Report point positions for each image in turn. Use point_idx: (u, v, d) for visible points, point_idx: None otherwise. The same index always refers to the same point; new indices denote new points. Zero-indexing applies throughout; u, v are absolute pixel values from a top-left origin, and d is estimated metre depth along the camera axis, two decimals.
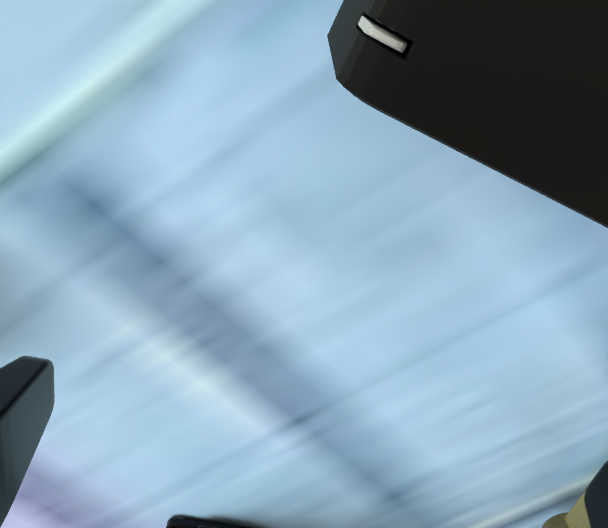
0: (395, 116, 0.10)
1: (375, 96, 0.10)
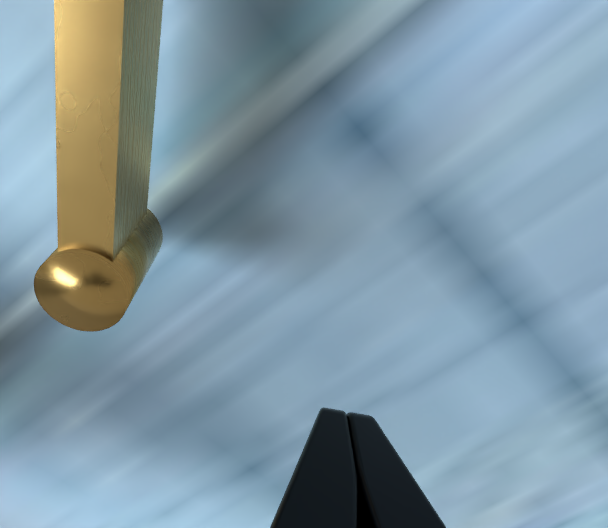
0: None
1: None
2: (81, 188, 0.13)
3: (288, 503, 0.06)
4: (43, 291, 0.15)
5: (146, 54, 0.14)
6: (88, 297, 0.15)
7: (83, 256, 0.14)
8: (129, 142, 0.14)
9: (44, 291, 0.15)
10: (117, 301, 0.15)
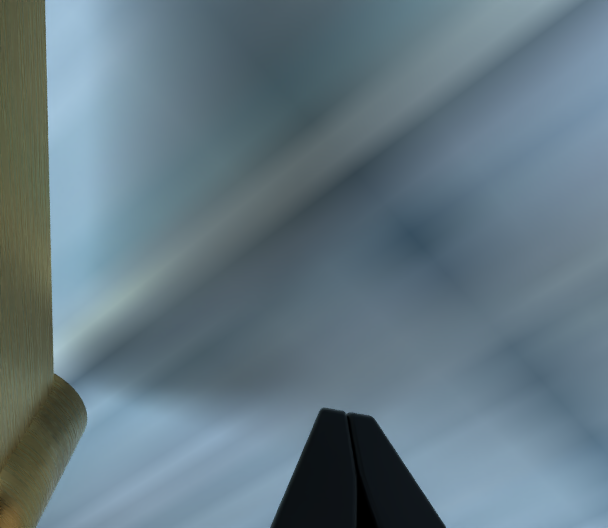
0: None
1: None
2: None
3: (288, 503, 0.06)
4: None
5: (3, 152, 0.07)
6: None
7: None
8: None
9: None
10: None
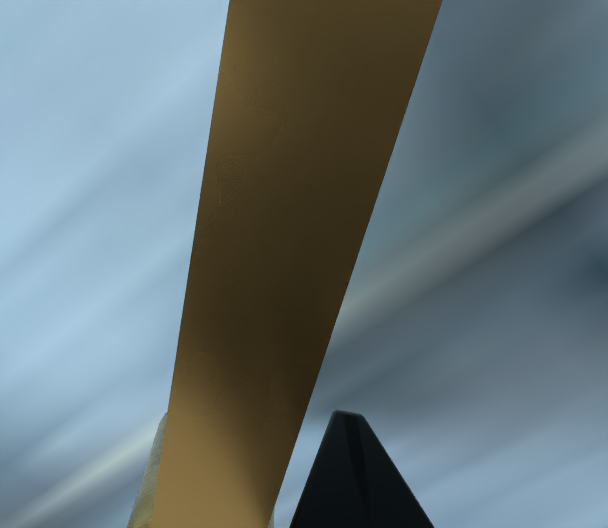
0: None
1: None
2: (204, 501, 0.07)
3: (306, 506, 0.06)
4: None
5: None
6: None
7: None
8: None
9: None
10: None
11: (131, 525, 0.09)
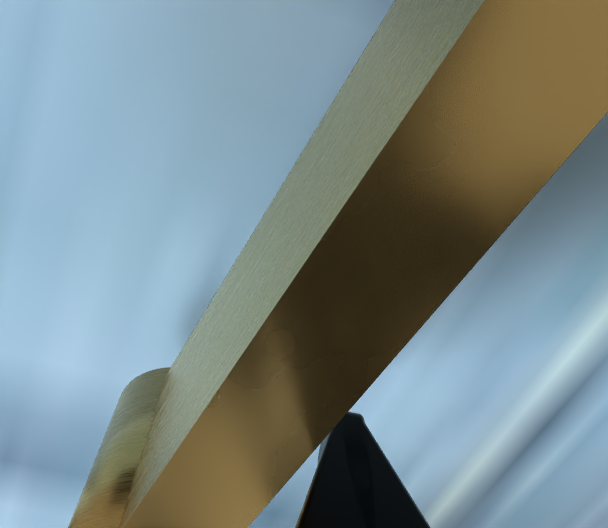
0: None
1: None
2: (218, 470, 0.07)
3: (311, 507, 0.06)
4: None
5: None
6: None
7: None
8: None
9: None
10: None
11: (97, 481, 0.09)
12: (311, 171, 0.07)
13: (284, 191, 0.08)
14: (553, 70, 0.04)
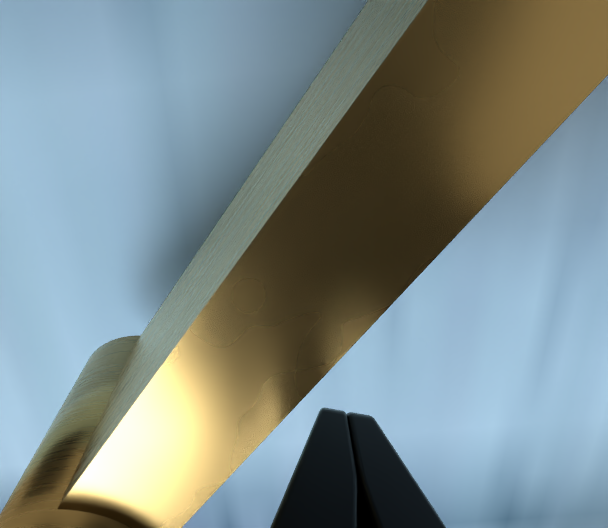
0: None
1: None
2: (174, 437, 0.06)
3: (288, 503, 0.06)
4: None
5: None
6: None
7: None
8: None
9: None
10: None
11: (49, 446, 0.08)
12: (301, 120, 0.06)
13: (272, 146, 0.07)
14: None
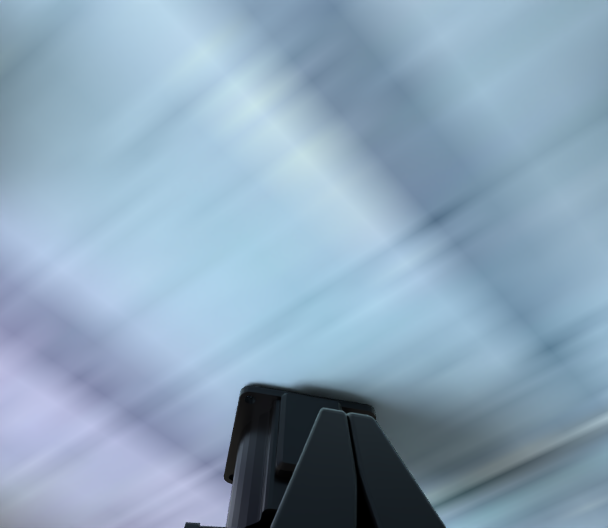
0: None
1: None
2: None
3: (288, 503, 0.06)
4: None
5: None
6: None
7: None
8: None
9: None
10: None
11: None
12: None
13: None
14: None
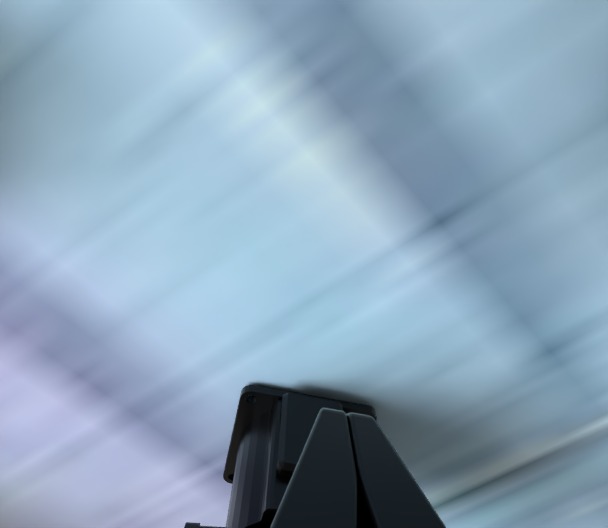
0: None
1: None
2: None
3: (288, 503, 0.06)
4: None
5: None
6: None
7: None
8: None
9: None
10: None
11: None
12: None
13: None
14: None
